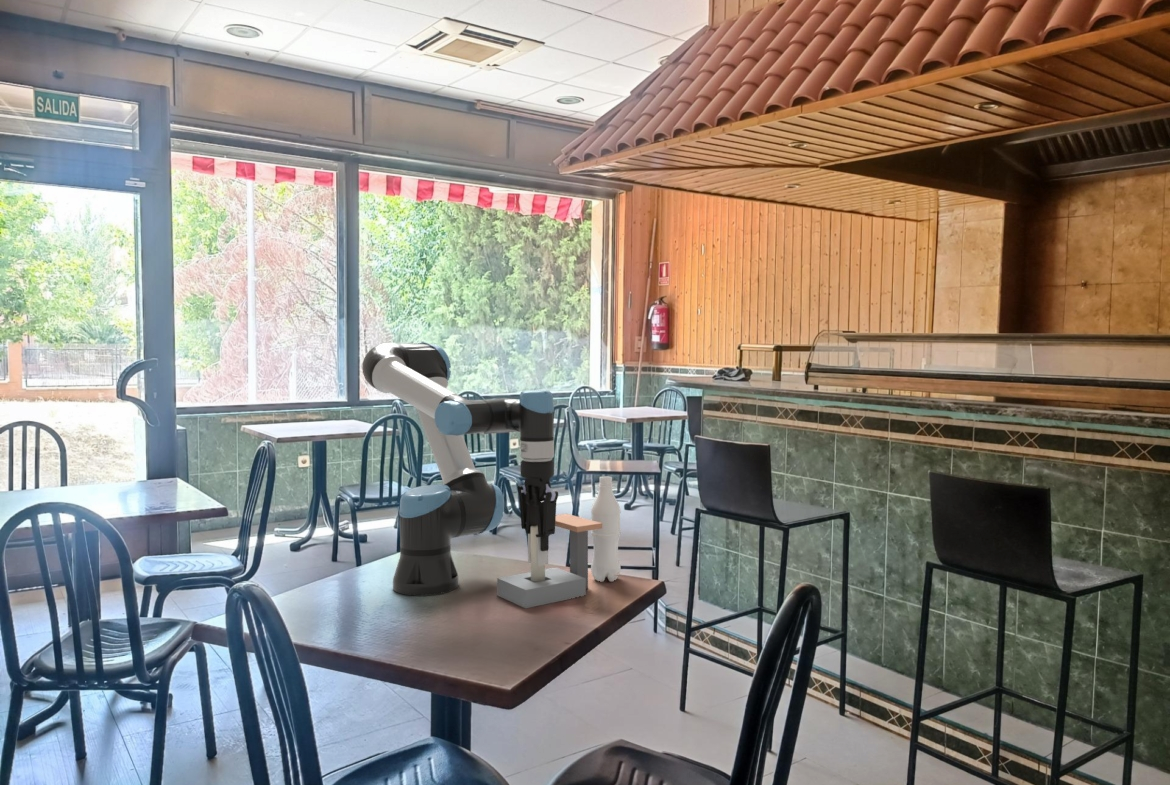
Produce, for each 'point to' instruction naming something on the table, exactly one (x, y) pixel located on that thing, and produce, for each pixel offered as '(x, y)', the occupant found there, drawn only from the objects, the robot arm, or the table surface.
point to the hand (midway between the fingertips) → (538, 563)
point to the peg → (536, 571)
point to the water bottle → (605, 533)
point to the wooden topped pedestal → (578, 541)
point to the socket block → (541, 588)
